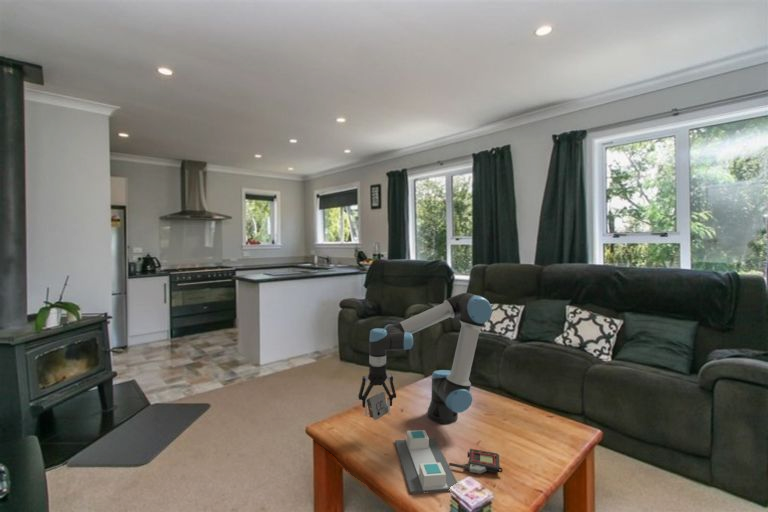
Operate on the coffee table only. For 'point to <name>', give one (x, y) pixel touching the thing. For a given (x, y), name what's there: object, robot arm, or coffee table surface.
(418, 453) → the rail board
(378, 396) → the electrical switch
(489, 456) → the walkie-talkie
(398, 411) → the coffee table surface
